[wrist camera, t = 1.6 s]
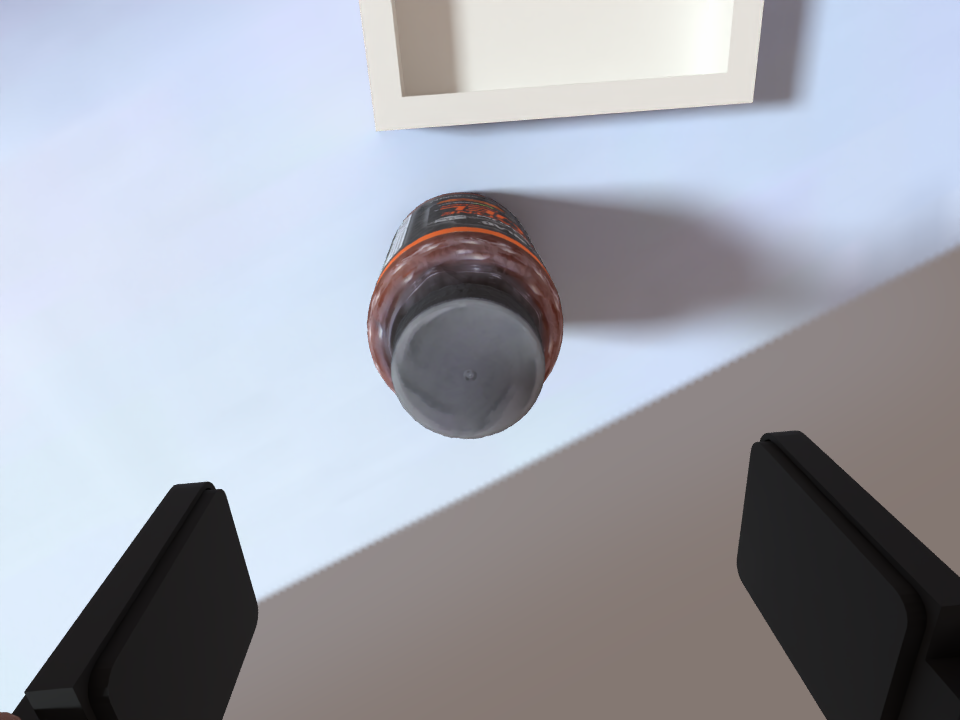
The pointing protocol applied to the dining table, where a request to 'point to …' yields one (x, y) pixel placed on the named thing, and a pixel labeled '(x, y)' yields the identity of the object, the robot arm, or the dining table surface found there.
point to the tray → (554, 58)
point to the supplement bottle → (464, 317)
